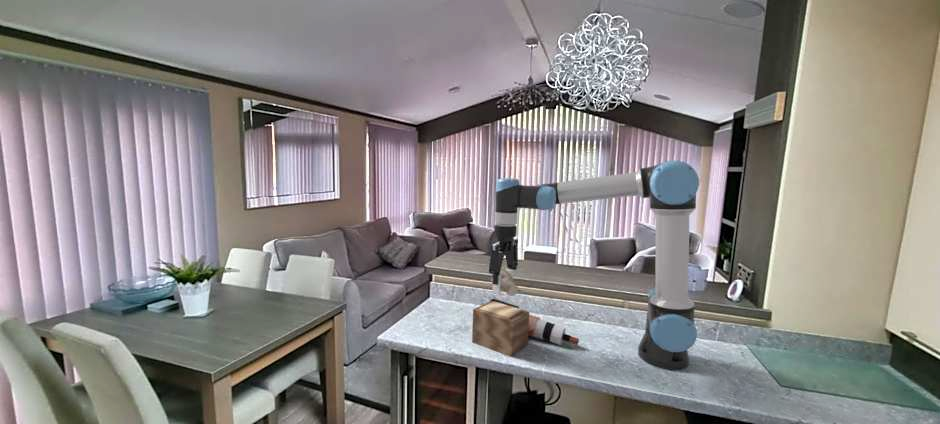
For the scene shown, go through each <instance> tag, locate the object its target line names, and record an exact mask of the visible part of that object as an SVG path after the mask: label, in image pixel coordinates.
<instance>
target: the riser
mask: <svg viewBox="0 0 940 424" xmlns="http://www.w3.org/2000/svg"><path fill="white" fill-rule="evenodd" d="M529 315H530V311H526V310H523V309H522V308H520V307H519V308H515V307H512V306H508V305H505V304H501V303H498V302H493V301H490V300H489V301H488V302H486V303H484V304H482V305H480V306H477V307H476V308H473V309H472V332H471V333H472V334H471V335H472V336H471V338H472V339H471V343H473V344H476V345H478V346H482V347H483V346H484V348H487V349H489V350H492V351H494V352H497V353H500V354H502V355H506V356H508V357H511V358H512V357H513V356H514V355H516V354H517V353H519V352H520V351H522V350H523V349H524V348H526V347H527V346H528V345H529V335H528V329H529Z"/></svg>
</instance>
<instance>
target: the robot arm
mask: <svg viewBox="0 0 940 424" xmlns="http://www.w3.org/2000/svg"><path fill="white" fill-rule="evenodd" d="M495 185H496V186H495V209H494V211H495V212H494V223H495V225H494V228H493V229H494V231H493V232H494V233H493V235H494V237H496V241H495V243H491V244H490V258H489V266H488V273H489V274H491V275H492V278H493V285H492V291H491V292H492V293H493V294H497V295H501V291H500V290H501V275H499V274H500V270H502V267H503V261H504V257H505V261H506V266H507V268H506V269H505V271H507V272H509V273H510V275H511V276H512V279H513V280H514V272H515V271H516V270H518V269H517V268H518V265H519V263H518V262H519V261H518V256H519V255H518V245H519V239H517V238H515V237H516V236H517V234H518V233H517V232H518V231H517V230H518V226H517V224H518V211H519V210H518V209H530V210H540V211H545V210H546V211H552V210H554V208H555V206H556V205H561V204H562V205H563V204H569V203H570V204H571V203H582V202H590V201H599V200H600V201H601V200H607V199H608V200H610V199H618V198H627V197H635V196H636V197H637V196H638V197H640V198H642V199H648V198H649V209H650V210H651V212H652V213H654V215H655V258H654V259H655V263H654V264H655V267H654V268H655V270H654V271H655V284H654V285H655V288H652V289H650V290H649V292H648V296H647V299H648V301H647V311H646V323H645V325H646V326H645V331H644V334H643V336H642V338H641V340H640V342H639V344H638V348H637V355H638V356H639V358H640V359H641V360H643V361H644V362H646V363H648V364H649V365H652V366H655V367H657V368H660V369H665V370H674V371H675V370H677V371H678V370H684V369H686V368H687V367H689V365H690V364H689V363H690V355H689V351H688V349H690V348H692V347H693V345H694V344H695V343H696V341H697V336H698V331H697V327H696V326H695V302H694V301H693V300H692V299H691V298H690V296H689V286H690V284H689V282H690V281H689V276H690V272H689V270H690V269H689V268H690V266H689V265H690V215H691V214H692V213H694V211H695V210H696V209H697V207H696V206H697V193H698V190H699V186H700V178H699V175H698V173H697V171H696V170H695V168H694V167H693V166H692V165H690V164H688V163H687V162H685V161H681V160H668V161H667V160H666V161H665V162H661V163H659V164H655V165H652V166H647V167H642V168H638V169H637V171H635V172H627V173H621V174H611V175H606V176H605V175H604V176H598V177H590V178H582V179H576V180H568V181H560V182H552V183H542V184H539V185H524V184H520V180H519V179H518V178H507V177H506V178H505V177H502V178H501V177H500V178H498V179H497V180H496V184H495ZM514 270H515V271H514Z"/></svg>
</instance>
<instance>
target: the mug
mask: <svg viewBox="0 0 940 424" xmlns="http://www.w3.org/2000/svg"><path fill="white" fill-rule="evenodd" d="M499 275H501V290H500V292H504V293H506V294H507V295H508V296H511V297H514V296H515V295H517V294H518V295H521V294H523V292H522V290H520V289H519V287H518V286H517V284H515V282H514V278H513V279H512V276H511V275H510V273H509V272H507V271H506V269H501V270H500V274H499ZM491 284H492V286H493V277H491Z"/></svg>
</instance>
